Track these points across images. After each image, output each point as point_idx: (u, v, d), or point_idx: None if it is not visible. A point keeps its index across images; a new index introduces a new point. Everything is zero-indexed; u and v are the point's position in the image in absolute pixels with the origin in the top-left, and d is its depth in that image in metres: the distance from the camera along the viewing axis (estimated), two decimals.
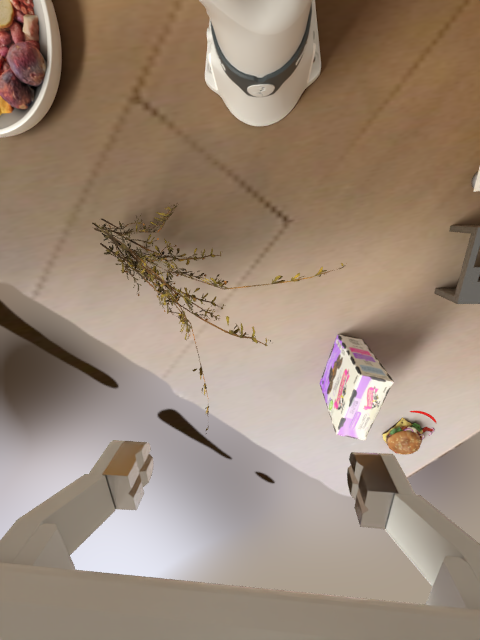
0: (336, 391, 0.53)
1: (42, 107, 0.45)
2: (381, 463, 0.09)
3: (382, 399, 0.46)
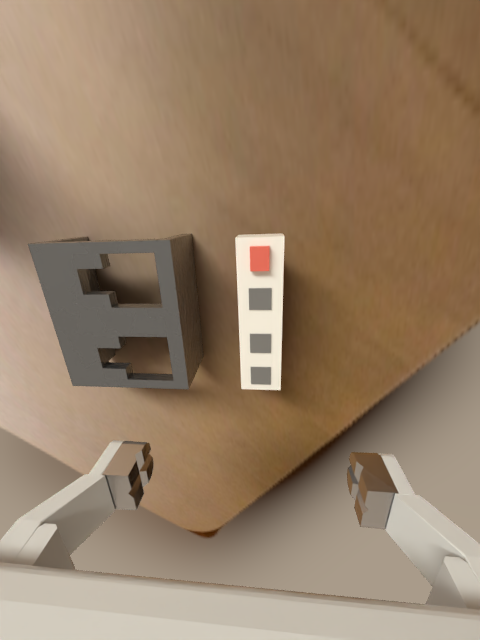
0: None
1: None
2: (381, 463, 0.09)
3: None
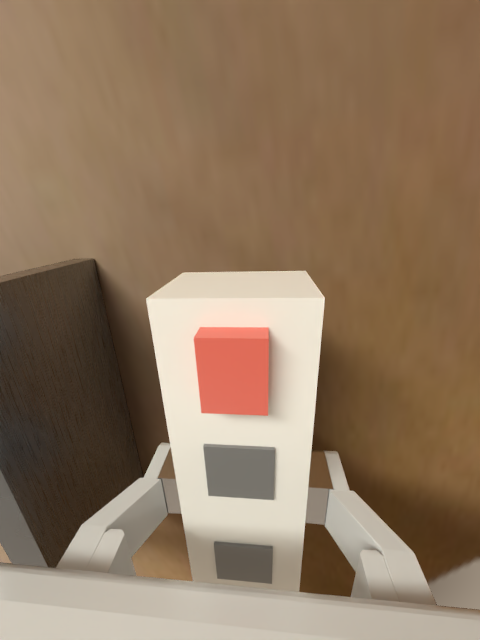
0: None
1: None
2: (323, 460, 0.10)
3: None
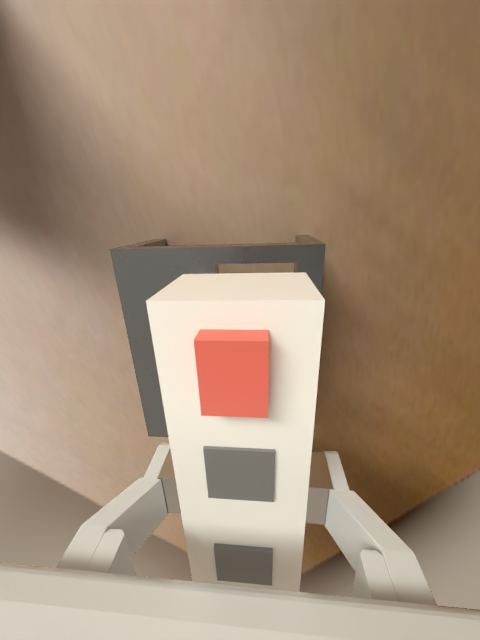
0: None
1: None
2: (323, 460, 0.10)
3: None
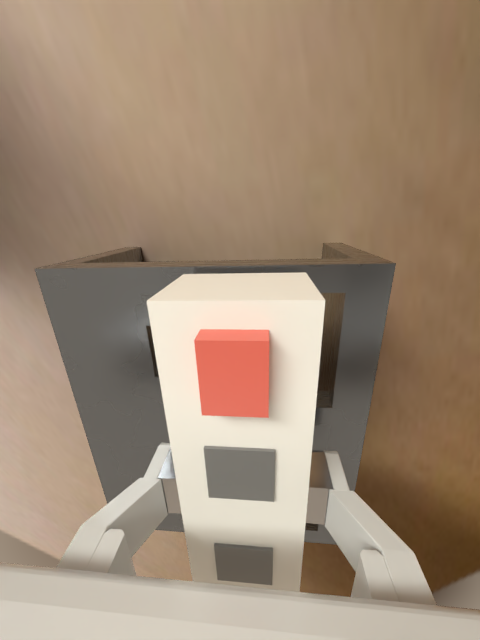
0: None
1: None
2: (323, 460, 0.10)
3: None
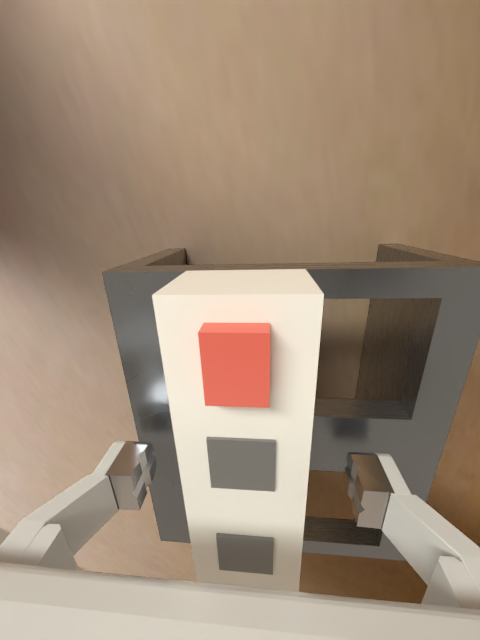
0: None
1: None
2: (377, 463, 0.09)
3: None
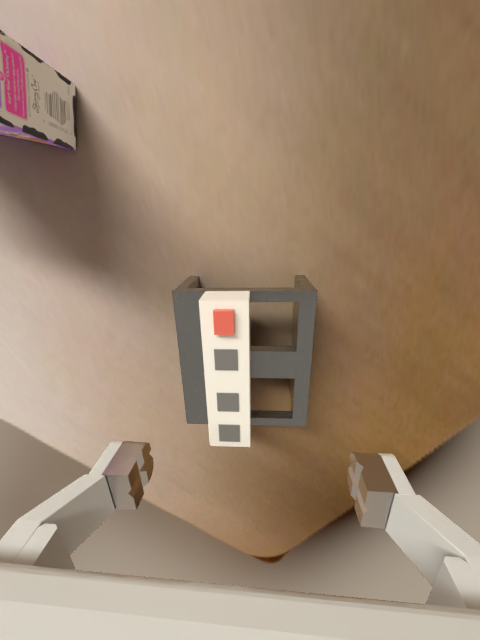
0: None
1: None
2: (381, 463, 0.09)
3: None
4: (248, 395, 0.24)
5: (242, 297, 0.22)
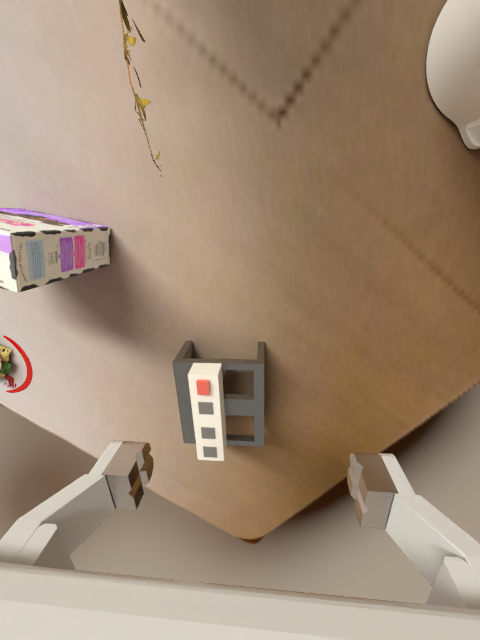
0: None
1: None
2: (381, 463, 0.09)
3: None
4: (221, 429, 0.38)
5: (214, 371, 0.35)
